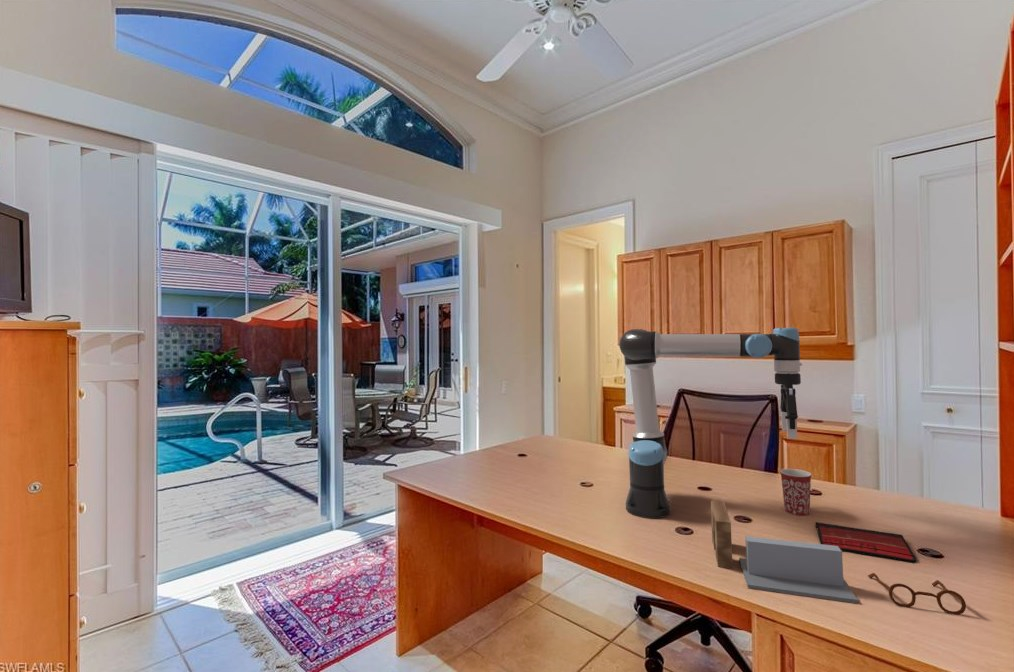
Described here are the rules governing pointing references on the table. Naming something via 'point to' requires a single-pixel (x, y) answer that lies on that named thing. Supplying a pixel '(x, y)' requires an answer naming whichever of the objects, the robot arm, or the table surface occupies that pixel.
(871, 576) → the glasses
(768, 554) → the stand board
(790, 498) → the mug
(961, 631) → the table surface
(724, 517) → the brown rectangular block
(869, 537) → the black and red tablet
